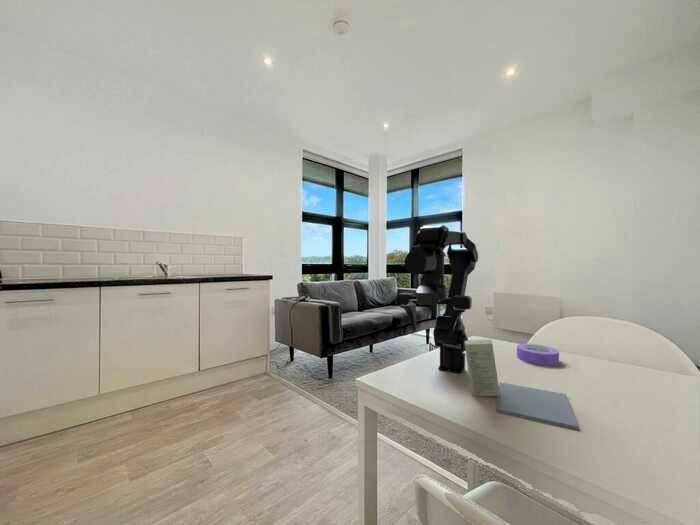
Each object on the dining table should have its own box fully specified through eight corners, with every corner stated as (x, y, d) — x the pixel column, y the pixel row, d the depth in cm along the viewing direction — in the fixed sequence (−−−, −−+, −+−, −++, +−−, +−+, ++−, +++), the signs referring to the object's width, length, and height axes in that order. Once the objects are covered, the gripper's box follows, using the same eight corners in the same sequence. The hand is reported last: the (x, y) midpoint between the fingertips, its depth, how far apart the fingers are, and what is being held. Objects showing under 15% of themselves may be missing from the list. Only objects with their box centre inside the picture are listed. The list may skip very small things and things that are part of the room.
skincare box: (497, 389, 71) (491, 339, 72) (500, 397, 67) (494, 343, 68) (469, 388, 74) (464, 339, 74) (470, 395, 70) (464, 344, 70)
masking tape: (568, 364, 92) (568, 352, 92) (538, 367, 89) (538, 354, 89) (535, 353, 104) (535, 342, 104) (508, 355, 101) (508, 344, 101)
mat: (496, 411, 62) (496, 408, 62) (499, 384, 76) (499, 382, 76) (579, 430, 55) (578, 426, 55) (565, 396, 69) (565, 394, 69)
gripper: (388, 273, 74) (388, 335, 74) (467, 275, 65) (467, 345, 65) (401, 272, 84) (401, 327, 84) (472, 274, 75) (471, 335, 75)
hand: (432, 333), depth 77 cm, fingers open, 9 cm apart
